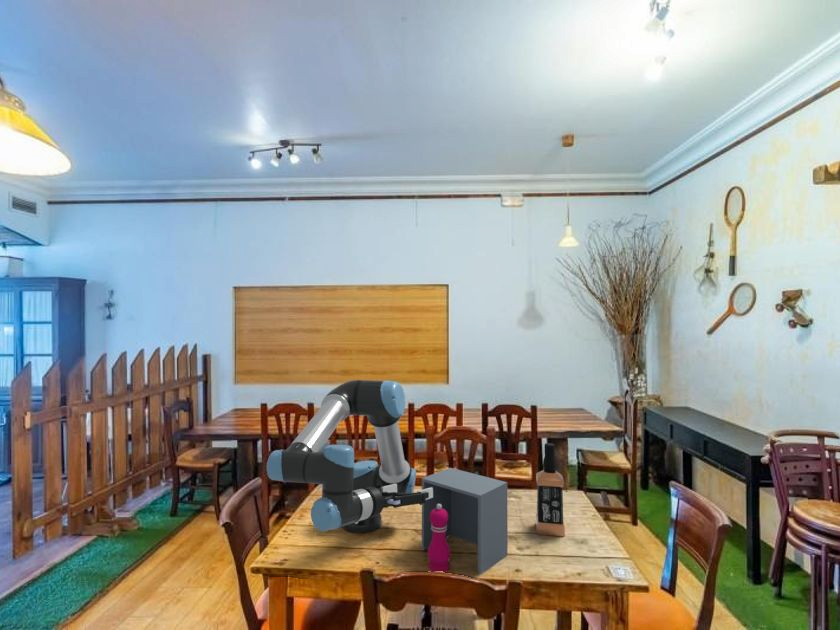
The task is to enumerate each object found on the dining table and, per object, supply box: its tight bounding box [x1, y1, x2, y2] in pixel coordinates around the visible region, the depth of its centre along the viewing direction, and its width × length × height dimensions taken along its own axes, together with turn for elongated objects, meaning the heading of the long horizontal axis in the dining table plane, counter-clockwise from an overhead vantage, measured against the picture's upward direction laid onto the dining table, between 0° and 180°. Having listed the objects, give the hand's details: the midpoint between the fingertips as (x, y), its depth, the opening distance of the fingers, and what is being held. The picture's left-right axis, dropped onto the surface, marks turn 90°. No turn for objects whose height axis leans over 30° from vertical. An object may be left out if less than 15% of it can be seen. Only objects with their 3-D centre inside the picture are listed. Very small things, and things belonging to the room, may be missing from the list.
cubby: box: [421, 467, 508, 575], centre depth 154 cm, size 24×16×24 cm, turn 49°
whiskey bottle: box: [535, 442, 566, 537], centre depth 171 cm, size 10×10×32 cm
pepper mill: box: [427, 504, 451, 573], centre depth 143 cm, size 7×7×20 cm
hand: (413, 490), depth 137 cm, fingers open, 13 cm apart
